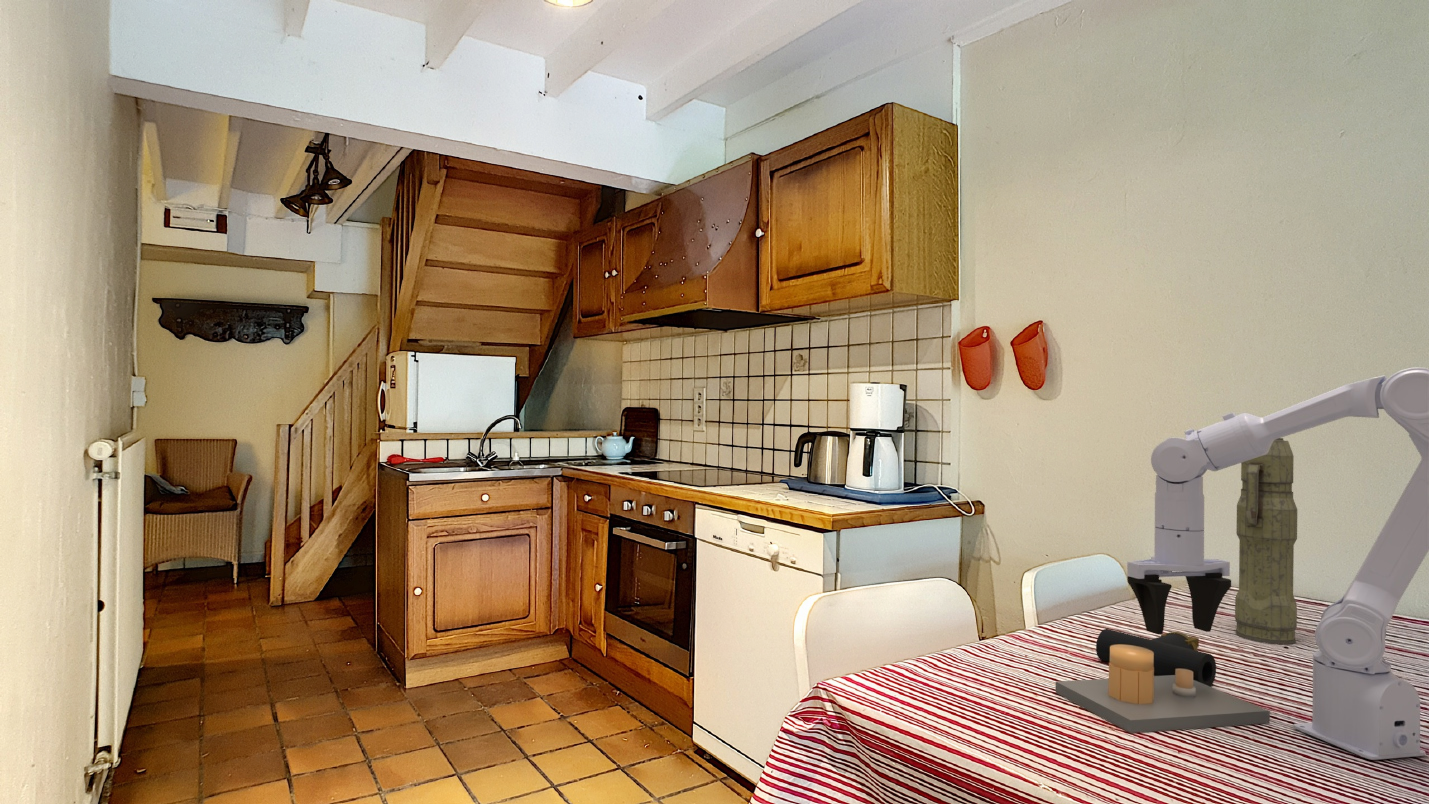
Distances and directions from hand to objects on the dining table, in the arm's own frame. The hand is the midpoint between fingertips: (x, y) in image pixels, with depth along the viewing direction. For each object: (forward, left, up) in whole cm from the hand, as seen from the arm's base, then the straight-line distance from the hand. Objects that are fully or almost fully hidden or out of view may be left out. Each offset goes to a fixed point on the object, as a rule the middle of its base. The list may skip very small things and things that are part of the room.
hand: (1178, 631), depth 106 cm
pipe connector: (+13, -9, -10) cm, 18 cm away
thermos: (+26, -42, -10) cm, 50 cm away
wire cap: (-1, +8, -8) cm, 11 cm away
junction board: (-1, +4, -9) cm, 10 cm away
